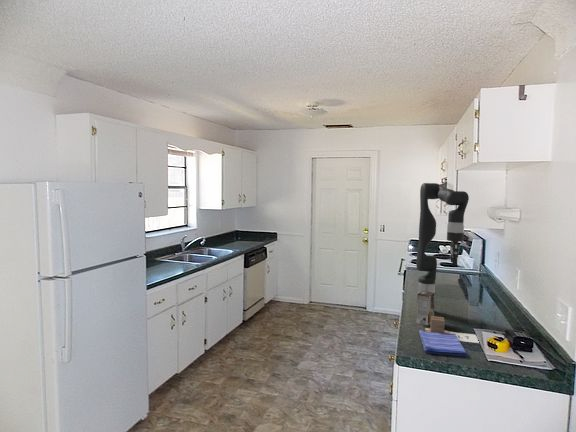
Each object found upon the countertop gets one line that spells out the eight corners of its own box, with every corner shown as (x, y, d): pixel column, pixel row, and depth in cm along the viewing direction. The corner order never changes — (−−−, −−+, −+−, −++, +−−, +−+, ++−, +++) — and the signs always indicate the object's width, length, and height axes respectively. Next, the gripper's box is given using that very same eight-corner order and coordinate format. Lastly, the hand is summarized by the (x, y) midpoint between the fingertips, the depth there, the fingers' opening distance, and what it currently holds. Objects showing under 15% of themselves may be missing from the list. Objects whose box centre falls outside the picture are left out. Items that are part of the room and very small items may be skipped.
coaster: (424, 329, 197) (424, 327, 197) (448, 331, 194) (448, 330, 194) (425, 335, 187) (425, 334, 187) (450, 338, 184) (450, 337, 184)
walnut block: (430, 329, 194) (430, 315, 194) (443, 331, 193) (443, 317, 192) (430, 333, 189) (431, 319, 188) (444, 335, 187) (444, 320, 187)
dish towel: (425, 354, 165) (425, 347, 165) (418, 333, 188) (418, 327, 188) (468, 358, 162) (468, 351, 161) (455, 336, 185) (456, 331, 185)
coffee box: (422, 319, 213) (423, 290, 212) (434, 322, 209) (435, 292, 208) (415, 323, 206) (417, 293, 205) (428, 326, 202) (429, 295, 201)
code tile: (449, 331, 194) (449, 331, 194) (475, 335, 190) (475, 334, 190) (451, 340, 182) (451, 339, 182) (479, 343, 179) (479, 343, 178)
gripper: (446, 229, 200) (444, 261, 201) (448, 232, 187) (446, 265, 188) (461, 230, 198) (460, 262, 199) (465, 233, 185) (463, 266, 186)
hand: (453, 263), depth 193 cm, fingers open, 8 cm apart
